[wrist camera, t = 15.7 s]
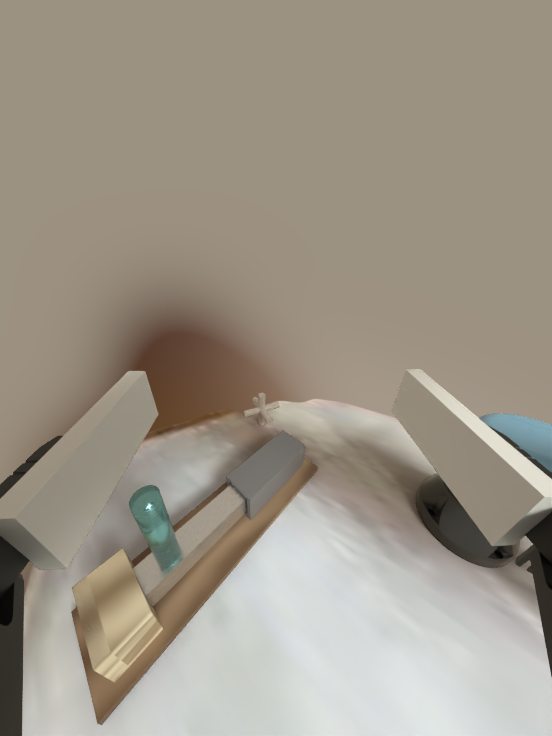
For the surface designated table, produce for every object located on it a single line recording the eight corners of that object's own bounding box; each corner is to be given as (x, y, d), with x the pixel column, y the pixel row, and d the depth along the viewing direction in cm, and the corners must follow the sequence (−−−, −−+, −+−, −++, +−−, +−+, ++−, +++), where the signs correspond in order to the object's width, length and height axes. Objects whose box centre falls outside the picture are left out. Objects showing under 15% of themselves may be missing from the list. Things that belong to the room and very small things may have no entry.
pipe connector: (239, 417, 66) (237, 389, 61) (269, 408, 70) (270, 381, 65) (251, 441, 58) (251, 411, 54) (285, 429, 63) (287, 400, 58)
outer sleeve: (302, 465, 51) (305, 445, 48) (250, 520, 41) (249, 500, 38) (281, 449, 55) (282, 430, 52) (228, 496, 44) (226, 476, 41)
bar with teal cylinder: (263, 494, 44) (264, 427, 35) (127, 632, 28) (68, 572, 19) (249, 481, 46) (247, 415, 37) (116, 602, 30) (59, 536, 22)
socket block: (163, 629, 29) (150, 611, 26) (114, 682, 26) (93, 669, 22) (136, 569, 34) (122, 547, 31) (92, 606, 31) (72, 587, 27)
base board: (317, 470, 52) (317, 466, 51) (101, 724, 24) (97, 723, 23) (278, 442, 58) (278, 438, 58) (75, 614, 31) (71, 611, 30)
